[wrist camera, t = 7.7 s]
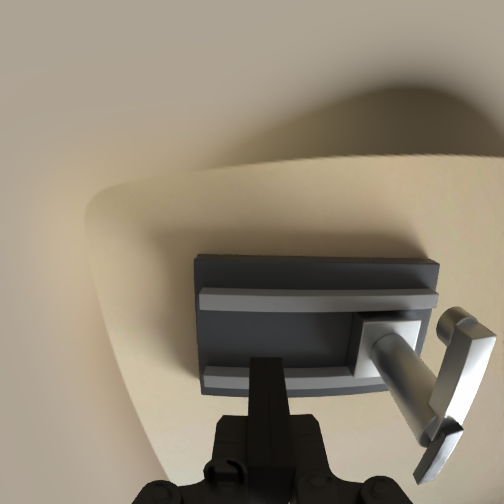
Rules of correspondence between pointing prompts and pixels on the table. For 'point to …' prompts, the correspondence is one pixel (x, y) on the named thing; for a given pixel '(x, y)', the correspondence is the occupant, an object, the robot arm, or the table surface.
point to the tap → (423, 374)
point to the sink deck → (299, 316)
